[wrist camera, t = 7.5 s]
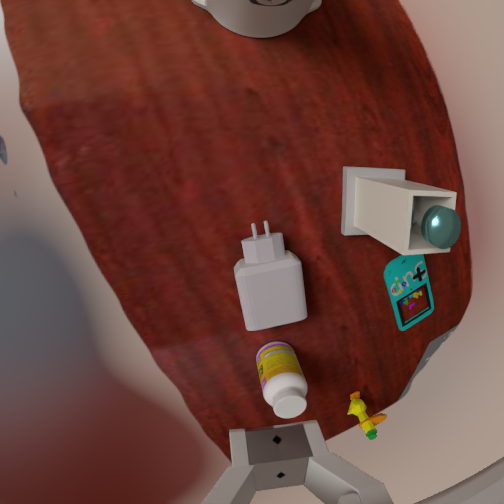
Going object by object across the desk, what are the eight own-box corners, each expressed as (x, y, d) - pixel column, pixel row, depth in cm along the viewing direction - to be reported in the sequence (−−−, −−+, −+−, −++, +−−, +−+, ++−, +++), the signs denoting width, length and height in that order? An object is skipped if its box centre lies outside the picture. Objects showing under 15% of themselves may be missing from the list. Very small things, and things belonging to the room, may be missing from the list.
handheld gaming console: (421, 245, 49) (435, 311, 54) (418, 243, 50) (432, 309, 55) (382, 268, 50) (400, 333, 54) (379, 266, 51) (398, 330, 55)
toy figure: (370, 383, 58) (394, 423, 47) (370, 395, 59) (393, 433, 48) (339, 395, 58) (360, 437, 47) (340, 406, 59) (360, 447, 48)
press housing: (343, 166, 45) (398, 176, 30) (400, 169, 46) (465, 181, 31) (341, 232, 48) (391, 268, 33) (396, 230, 49) (455, 262, 34)
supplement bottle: (251, 345, 52) (262, 397, 40) (290, 335, 52) (311, 384, 40) (259, 374, 54) (271, 427, 42) (296, 365, 54) (315, 415, 42)
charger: (288, 212, 46) (300, 304, 51) (224, 224, 46) (244, 316, 50) (296, 219, 42) (308, 318, 46) (226, 233, 41) (247, 332, 46)
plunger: (378, 189, 40) (432, 206, 28) (407, 190, 40) (464, 207, 29) (376, 225, 41) (427, 252, 30) (405, 224, 42) (458, 249, 30)
